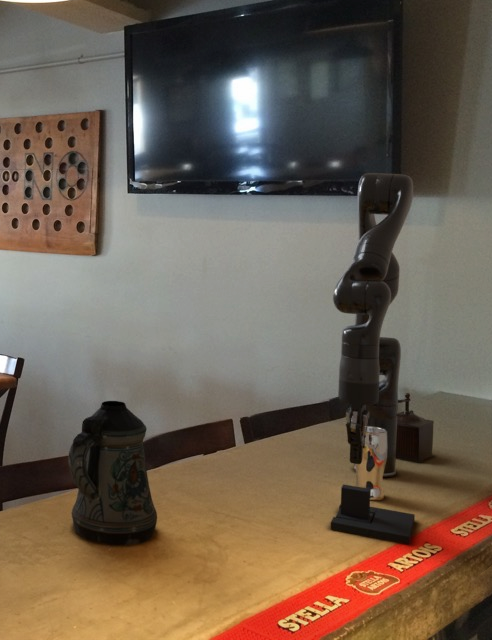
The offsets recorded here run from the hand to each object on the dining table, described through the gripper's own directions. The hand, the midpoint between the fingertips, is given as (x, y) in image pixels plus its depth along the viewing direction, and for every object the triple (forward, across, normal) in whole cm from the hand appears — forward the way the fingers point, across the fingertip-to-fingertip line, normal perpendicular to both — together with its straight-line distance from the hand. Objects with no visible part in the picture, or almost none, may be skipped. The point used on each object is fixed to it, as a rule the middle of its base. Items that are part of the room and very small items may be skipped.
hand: (355, 462), depth 164 cm
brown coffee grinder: (+13, +61, -2) cm, 62 cm away
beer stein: (+12, -32, +39) cm, 52 cm away
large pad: (+12, 0, -4) cm, 13 cm away
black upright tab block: (+12, 0, 0) cm, 12 cm away
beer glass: (+12, +19, -1) cm, 23 cm away
